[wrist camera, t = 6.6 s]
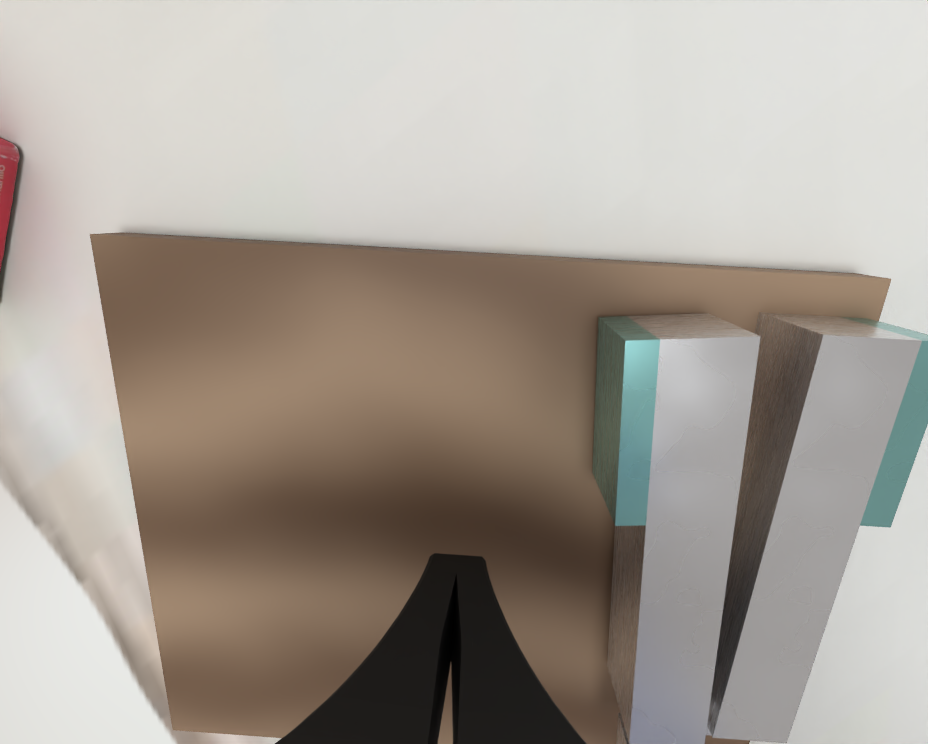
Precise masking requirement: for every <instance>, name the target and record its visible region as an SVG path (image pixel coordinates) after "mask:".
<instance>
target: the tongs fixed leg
mask: <svg viewBox="0 0 928 744" xmlns="http://www.w3.org/2000/svg"><path fill="white" fill-rule="evenodd" d="M754 334H757V335H759V336H761V337H760V344H759V351H758V359H757V366H756V373H755V380H754V388H753V395H752V402H751V410H750V417H749V424H748V431H747V439H746V446H745V453H744V461H743V468H742V475H741V482H740V490H739V497H738V504H737V511H736V519H735V526H734V533H733V541H732V548H731V555H730V562H729V570H728V577H727V584H726V592H725V599H724V606H723V613H722V621H721V628H720V635H719V642H718V650H717V657H716V664H715V672H714V679H713V686H712V693H711V701H710V708H709V715H708V723H707V730H706V735H711V736H712V738H723V739H737V740H751V741H765V742H779V743H787V740H788V737H789V734H790V731H791V728H792V725H793V722H794V719H795V716H796V713H797V710H798V707H799V704H800V701H801V698H802V695H803V692H804V689H805V686H806V683H807V681H808V678H809V675H810V672H811V669H812V666H813V663H814V660H815V657H816V654H817V651H818V648H819V645H820V642H821V639H822V636H823V633H824V630H825V627H826V624H827V621H828V618H829V615H830V612H831V609H832V606H833V603H834V600H835V597H836V595H837V592H838V589H839V586H840V583H841V580H842V577H843V574H844V571H845V568H846V565H847V562H848V559H849V556H850V553H851V550H852V547H853V544H854V541H855V538H856V535H857V532H858V529H859V526H860V525H861V526H877V527H891V525H892V522H893V519H894V516H895V513H896V511H897V508H898V505H899V502H900V499H901V497H902V494H903V491H904V488H905V486H906V483H907V480H908V477H909V474H910V472H911V469H912V466H913V463H914V460H915V458H916V455H917V452H918V449H919V447H920V444H921V441H922V438H923V435H924V433H925V430H926V427H927V424H928V335H927V334H923V333H920V332H916V331H912V330H908V329H905V328H901V327H897V326H894V325H890V324H886V323H883V322H879V321H875V320H871V319H868V318H852V317H835V316H817V315H800V314H782V313H765V312H759V315H758V319H757V324H756V328H755V332H754Z"/></svg>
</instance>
